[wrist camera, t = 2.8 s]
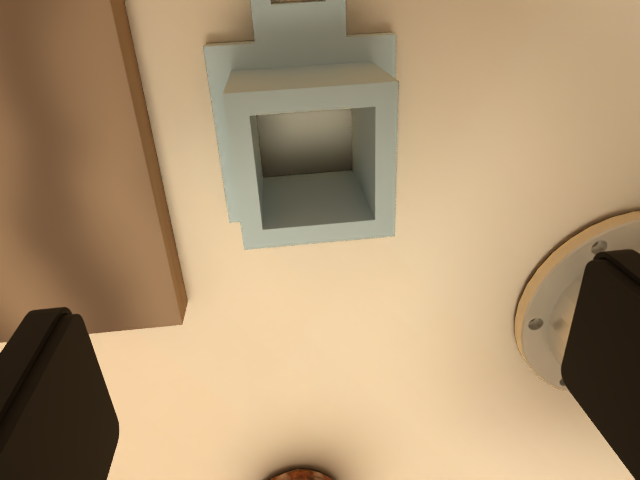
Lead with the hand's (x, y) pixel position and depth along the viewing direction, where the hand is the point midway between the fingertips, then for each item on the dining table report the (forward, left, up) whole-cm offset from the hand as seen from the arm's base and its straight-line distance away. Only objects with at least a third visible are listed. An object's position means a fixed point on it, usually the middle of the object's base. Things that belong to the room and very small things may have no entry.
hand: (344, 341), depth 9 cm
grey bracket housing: (0, -2, -16) cm, 16 cm away
